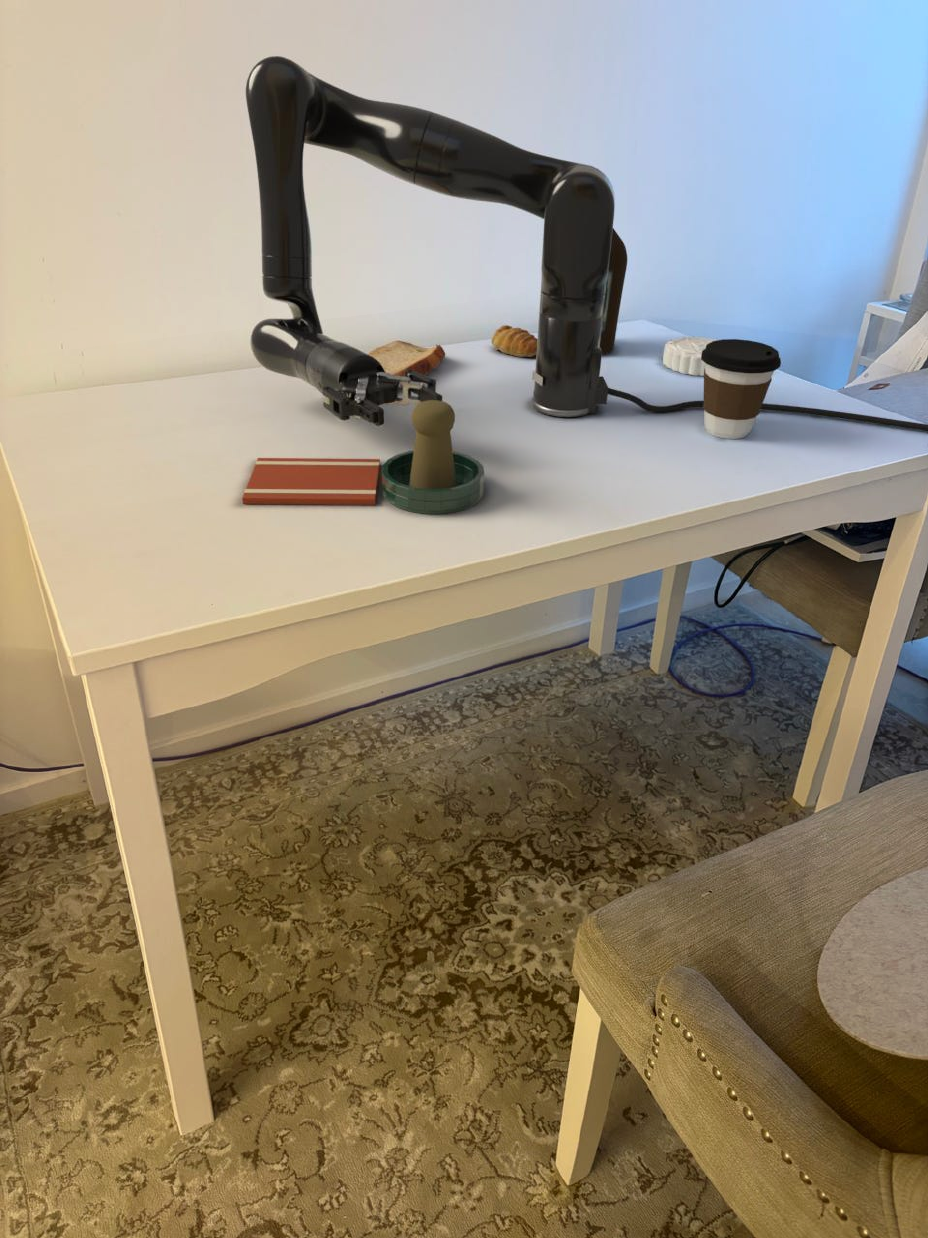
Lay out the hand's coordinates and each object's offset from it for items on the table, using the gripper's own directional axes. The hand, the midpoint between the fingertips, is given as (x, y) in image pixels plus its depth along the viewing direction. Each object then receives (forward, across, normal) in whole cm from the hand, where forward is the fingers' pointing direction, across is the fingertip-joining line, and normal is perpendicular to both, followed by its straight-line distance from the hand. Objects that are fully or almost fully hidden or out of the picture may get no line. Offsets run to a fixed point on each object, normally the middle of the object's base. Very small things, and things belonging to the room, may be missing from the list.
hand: (411, 410), depth 112 cm
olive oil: (-29, +57, +9) cm, 65 cm away
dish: (+5, 0, +9) cm, 10 cm away
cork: (+5, 0, +9) cm, 10 cm away
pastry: (-34, +46, +9) cm, 58 cm away
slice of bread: (-35, +22, +9) cm, 42 cm away
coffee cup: (+12, +47, +9) cm, 50 cm away
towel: (-6, -11, +9) cm, 15 cm away
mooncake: (-11, +67, +9) cm, 69 cm away
